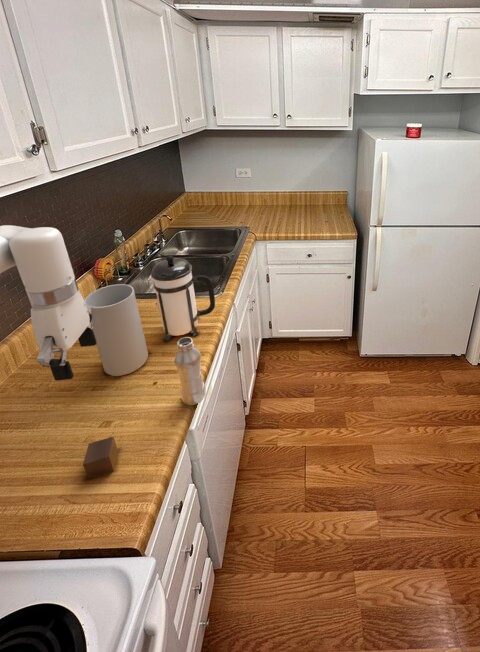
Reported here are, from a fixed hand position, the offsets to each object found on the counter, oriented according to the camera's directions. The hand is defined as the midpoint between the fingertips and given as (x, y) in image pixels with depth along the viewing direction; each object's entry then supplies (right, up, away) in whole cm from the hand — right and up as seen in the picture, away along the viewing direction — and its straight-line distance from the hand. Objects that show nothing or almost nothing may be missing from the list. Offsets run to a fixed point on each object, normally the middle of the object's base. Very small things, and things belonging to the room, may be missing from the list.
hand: (77, 360), depth 70 cm
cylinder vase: (-10, -15, +36) cm, 40 cm away
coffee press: (+2, -9, +52) cm, 53 cm away
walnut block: (+1, -26, +6) cm, 27 cm away
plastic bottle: (+16, -20, +23) cm, 35 cm away
